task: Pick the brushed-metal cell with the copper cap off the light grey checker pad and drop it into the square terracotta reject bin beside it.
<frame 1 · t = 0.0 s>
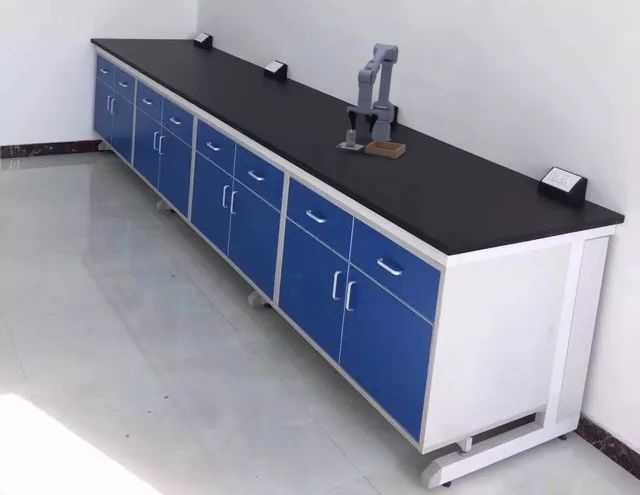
hand: (362, 130, 334), 10 cm above the worktop, fingers open, 7 cm apart
reject bin: (385, 153, 341), on the worktop
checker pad: (350, 147, 346), on the worktop
cell: (350, 146, 345), point 1 cm above the worktop, touching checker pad
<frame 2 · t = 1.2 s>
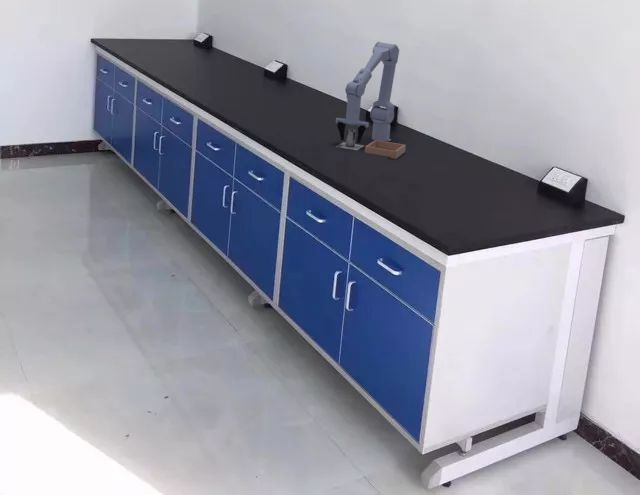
hand: (350, 141, 345), 3 cm above the worktop, fingers open, 7 cm apart
nothing on the worktop moved.
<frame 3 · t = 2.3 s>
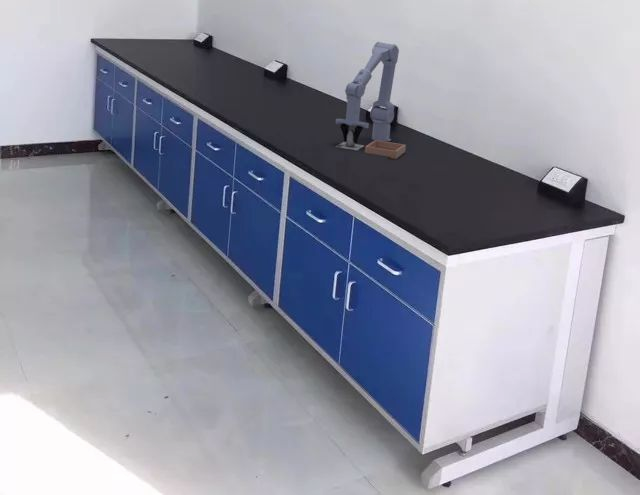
hand: (350, 142, 345), 3 cm above the worktop, fingers closed on cell, 4 cm apart
cell: (350, 146, 345), point 1 cm above the worktop, touching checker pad, gripper
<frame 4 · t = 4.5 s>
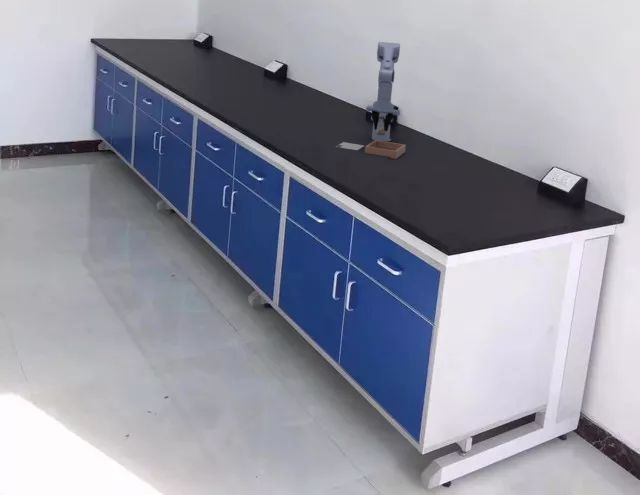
hand: (381, 129, 338), 10 cm above the worktop, fingers closed on cell, 4 cm apart
cell: (380, 134, 338), point 8 cm above the worktop, touching gripper
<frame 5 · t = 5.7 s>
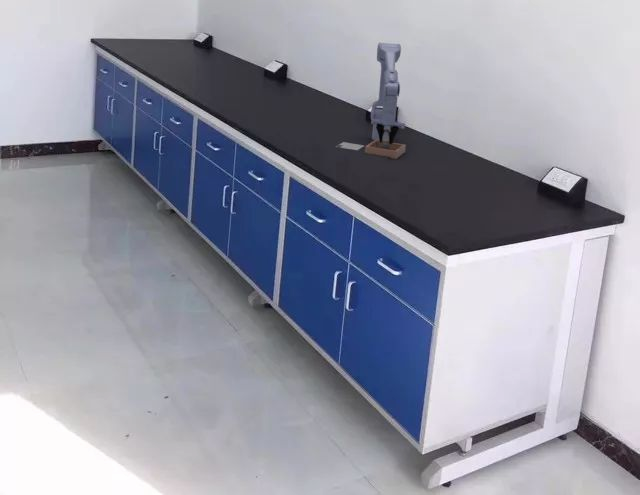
hand: (386, 142, 339), 5 cm above the worktop, fingers closed on cell, 4 cm apart
cell: (385, 146, 339), point 3 cm above the worktop, touching gripper
when the fingers open (4 cm above the worktop, at t = 6.6 s): cell drops 2 cm, resting on reject bin.
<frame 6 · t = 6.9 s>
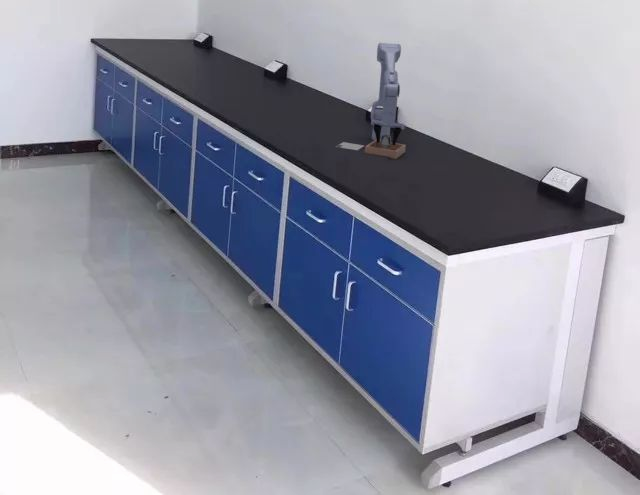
hand: (386, 143, 339), 4 cm above the worktop, fingers open, 6 cm apart
cell: (384, 152, 340), point 1 cm above the worktop, touching reject bin
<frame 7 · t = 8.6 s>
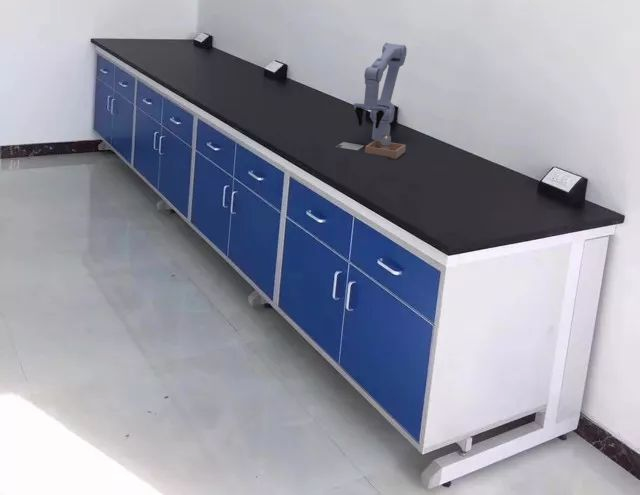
hand: (368, 126, 345), 9 cm above the worktop, fingers open, 7 cm apart
nothing on the worktop moved.
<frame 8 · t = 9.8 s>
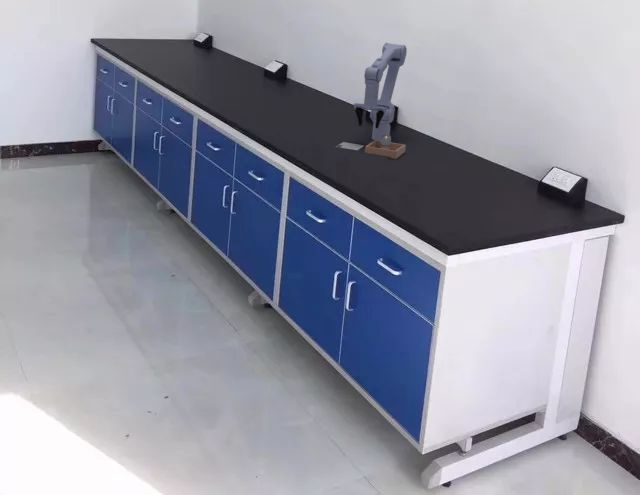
hand: (368, 126, 345), 9 cm above the worktop, fingers open, 7 cm apart
nothing on the worktop moved.
at the end: cell inside the target area on the reject bin (0.1 cm from its centre), point 0.6 cm above the reject bin's base; the gripper is holding nothing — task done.
